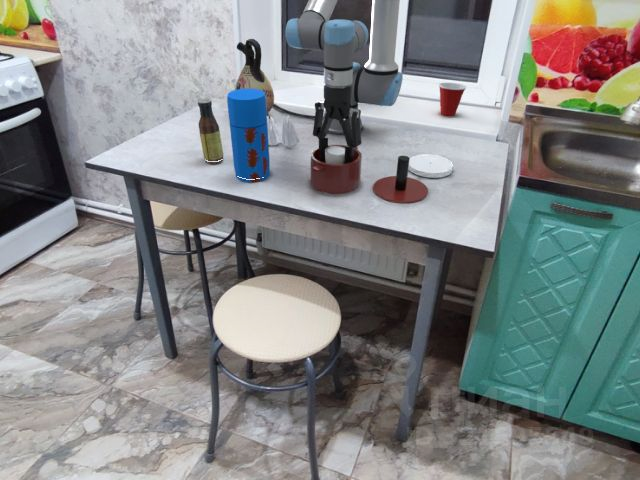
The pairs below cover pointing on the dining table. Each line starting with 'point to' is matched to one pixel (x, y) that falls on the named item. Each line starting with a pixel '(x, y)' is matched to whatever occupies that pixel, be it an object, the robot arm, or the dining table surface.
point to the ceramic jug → (254, 72)
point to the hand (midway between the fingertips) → (335, 163)
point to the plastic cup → (450, 98)
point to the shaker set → (288, 133)
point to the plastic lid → (430, 166)
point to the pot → (335, 173)
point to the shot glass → (335, 155)
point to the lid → (400, 185)
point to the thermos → (249, 134)
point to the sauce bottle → (209, 133)
